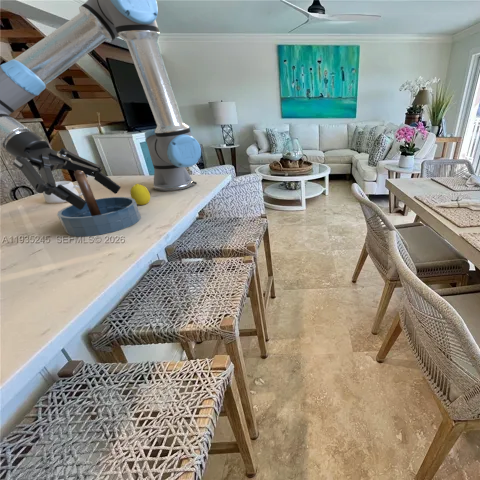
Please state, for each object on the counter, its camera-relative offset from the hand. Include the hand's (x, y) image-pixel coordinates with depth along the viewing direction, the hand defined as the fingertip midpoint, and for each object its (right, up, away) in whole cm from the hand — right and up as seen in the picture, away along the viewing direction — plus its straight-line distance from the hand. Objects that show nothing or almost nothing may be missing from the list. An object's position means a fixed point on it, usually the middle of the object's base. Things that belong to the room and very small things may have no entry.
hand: (102, 197), depth 74 cm
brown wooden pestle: (-4, -7, +3) cm, 9 cm away
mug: (-34, +3, +26) cm, 43 cm away
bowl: (-2, -8, +4) cm, 9 cm away
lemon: (-1, 0, +19) cm, 19 cm away
